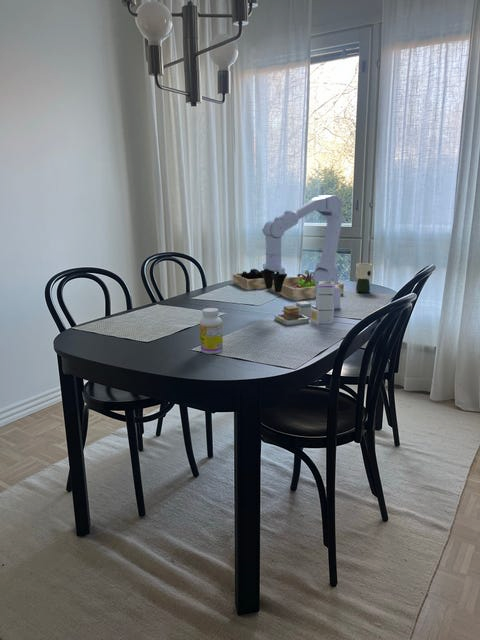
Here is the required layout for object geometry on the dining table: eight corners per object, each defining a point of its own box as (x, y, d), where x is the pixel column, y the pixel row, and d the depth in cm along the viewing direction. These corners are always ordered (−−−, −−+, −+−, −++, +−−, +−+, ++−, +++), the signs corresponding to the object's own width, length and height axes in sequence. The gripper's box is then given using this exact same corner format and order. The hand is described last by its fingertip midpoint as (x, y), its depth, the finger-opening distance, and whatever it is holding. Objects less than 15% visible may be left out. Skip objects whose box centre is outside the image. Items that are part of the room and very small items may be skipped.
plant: (279, 295, 217) (279, 271, 214) (294, 287, 234) (295, 265, 231) (321, 299, 208) (321, 274, 205) (334, 291, 225) (335, 267, 222)
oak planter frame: (313, 285, 238) (314, 275, 236) (343, 294, 215) (343, 283, 213) (267, 289, 228) (267, 279, 227) (293, 300, 205) (293, 289, 204)
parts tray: (296, 316, 179) (296, 312, 179) (309, 322, 171) (309, 317, 170) (274, 319, 176) (274, 315, 175) (285, 325, 167) (286, 320, 167)
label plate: (311, 321, 172) (311, 308, 171) (318, 324, 168) (319, 311, 167) (309, 321, 172) (310, 308, 171) (317, 325, 168) (317, 311, 166)
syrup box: (333, 324, 168) (334, 284, 165) (316, 323, 170) (317, 283, 166) (333, 320, 174) (335, 281, 170) (317, 319, 175) (318, 280, 171)
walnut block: (293, 318, 176) (293, 305, 174) (298, 321, 172) (299, 307, 171) (283, 319, 174) (283, 306, 173) (288, 322, 171) (289, 308, 169)
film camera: (273, 285, 240) (273, 267, 238) (267, 288, 232) (267, 270, 229) (245, 283, 245) (245, 266, 243) (238, 287, 237) (238, 269, 234)
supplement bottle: (200, 347, 146) (199, 307, 142) (222, 347, 146) (221, 306, 143) (200, 355, 139) (199, 312, 136) (223, 354, 140) (222, 311, 136)
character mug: (367, 295, 213) (369, 266, 210) (352, 293, 216) (353, 265, 213) (373, 290, 223) (374, 262, 219) (357, 289, 226) (359, 262, 222)
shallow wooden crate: (267, 280, 253) (267, 270, 251) (284, 286, 235) (284, 276, 234) (232, 283, 246) (232, 273, 244) (247, 290, 228) (247, 280, 227)
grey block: (305, 313, 184) (305, 301, 182) (310, 316, 180) (311, 303, 179) (295, 314, 182) (296, 302, 181) (301, 317, 179) (301, 304, 177)
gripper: (255, 252, 180) (255, 287, 184) (272, 257, 167) (272, 294, 171) (272, 251, 183) (272, 286, 186) (290, 255, 170) (289, 293, 173)
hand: (273, 290), depth 179 cm, fingers open, 7 cm apart
